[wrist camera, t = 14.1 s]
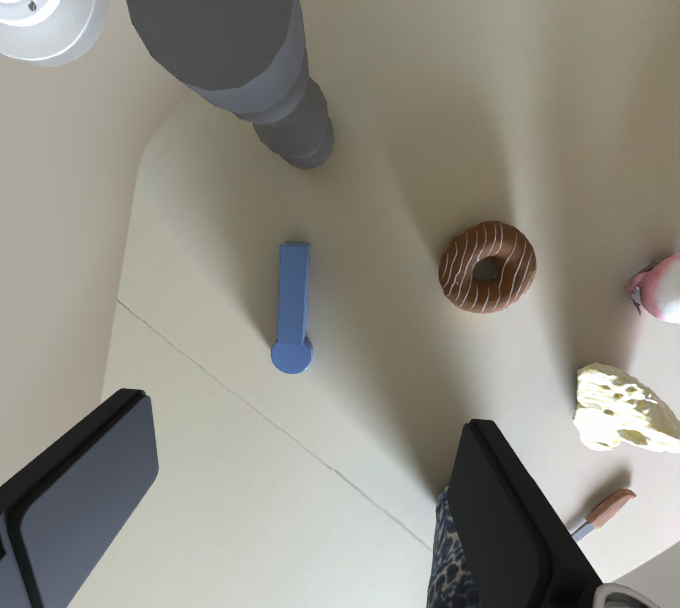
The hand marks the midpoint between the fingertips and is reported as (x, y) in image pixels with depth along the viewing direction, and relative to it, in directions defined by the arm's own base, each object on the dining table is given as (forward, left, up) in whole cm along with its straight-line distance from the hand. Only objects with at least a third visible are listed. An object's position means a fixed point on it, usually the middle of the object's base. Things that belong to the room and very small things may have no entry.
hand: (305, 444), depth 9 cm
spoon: (-5, -7, -30) cm, 31 cm away
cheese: (+34, -14, -31) cm, 48 cm away
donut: (+17, +1, -31) cm, 35 cm away
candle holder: (-5, +13, -31) cm, 34 cm away
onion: (+38, +1, -31) cm, 49 cm away
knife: (+43, -38, -30) cm, 65 cm away
